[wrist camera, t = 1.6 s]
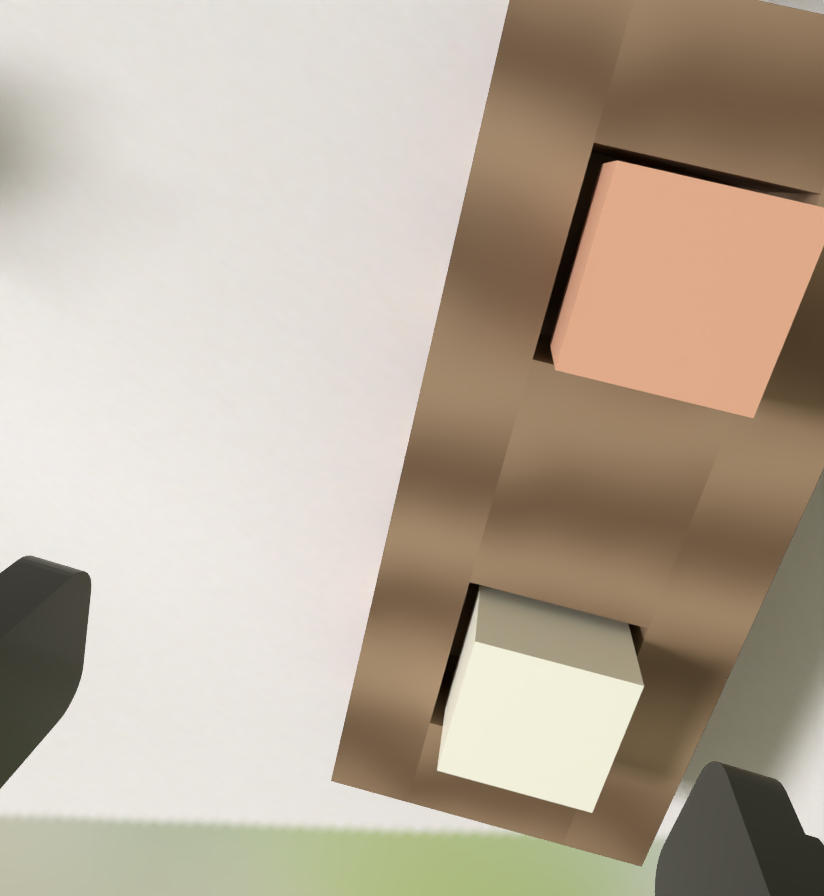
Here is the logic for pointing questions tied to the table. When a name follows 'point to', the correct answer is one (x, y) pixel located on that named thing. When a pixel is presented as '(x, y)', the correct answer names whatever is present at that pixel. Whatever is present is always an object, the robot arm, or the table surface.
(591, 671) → the cream key
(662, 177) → the terracotta key
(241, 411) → the table surface
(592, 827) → the block
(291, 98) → the table surface
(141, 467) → the table surface
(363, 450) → the table surface
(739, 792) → the robot arm
